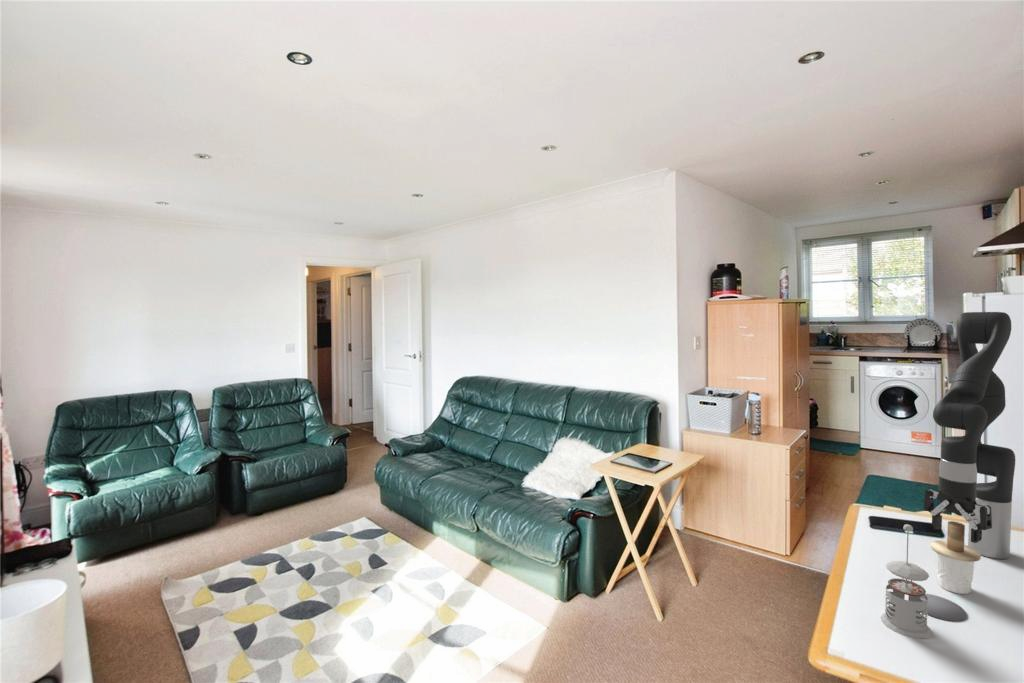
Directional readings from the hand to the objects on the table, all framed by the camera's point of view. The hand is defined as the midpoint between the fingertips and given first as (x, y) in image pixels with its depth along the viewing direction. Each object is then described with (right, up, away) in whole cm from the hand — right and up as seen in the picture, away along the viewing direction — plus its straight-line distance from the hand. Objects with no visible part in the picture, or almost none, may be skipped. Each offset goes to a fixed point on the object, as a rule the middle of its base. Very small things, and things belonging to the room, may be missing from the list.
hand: (955, 535), depth 133 cm
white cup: (0, -15, +1) cm, 15 cm away
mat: (-11, -16, -7) cm, 21 cm away
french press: (-24, -17, -13) cm, 32 cm away
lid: (0, -5, 0) cm, 5 cm away
